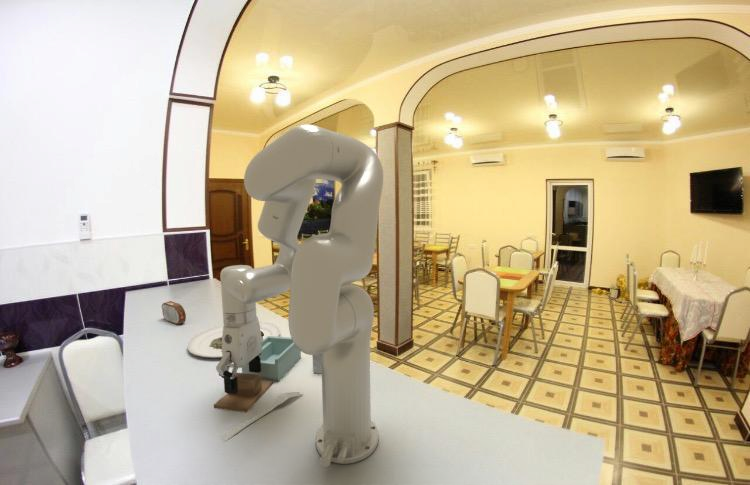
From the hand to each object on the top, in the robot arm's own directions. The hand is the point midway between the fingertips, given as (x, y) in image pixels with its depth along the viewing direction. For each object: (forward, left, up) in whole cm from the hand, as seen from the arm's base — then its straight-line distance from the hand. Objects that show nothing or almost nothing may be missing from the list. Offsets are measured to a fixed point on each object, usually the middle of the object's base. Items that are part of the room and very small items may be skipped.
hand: (244, 381), depth 79 cm
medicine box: (+17, -15, -4) cm, 23 cm away
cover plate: (0, 0, -4) cm, 4 cm away
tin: (+41, +61, -4) cm, 74 cm away
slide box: (+14, 0, -4) cm, 14 cm away
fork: (-6, -9, -4) cm, 12 cm away
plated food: (+29, +23, -4) cm, 37 cm away
